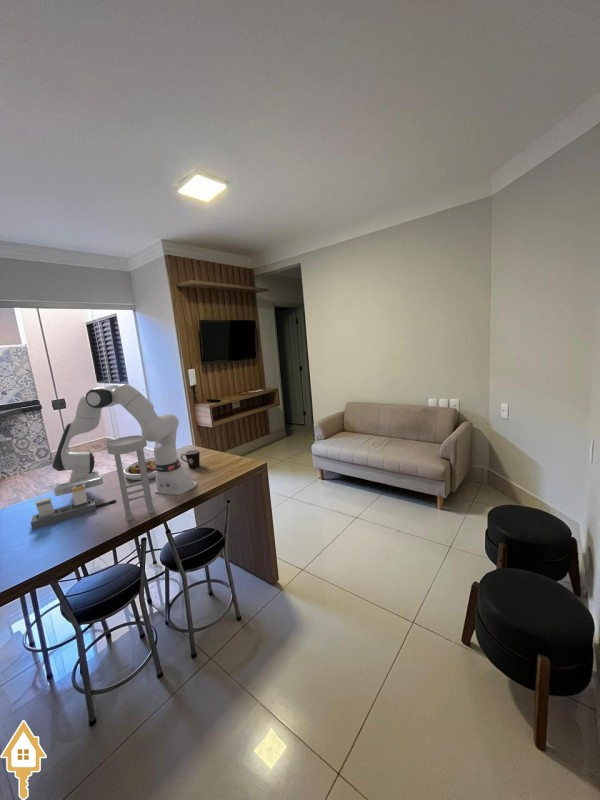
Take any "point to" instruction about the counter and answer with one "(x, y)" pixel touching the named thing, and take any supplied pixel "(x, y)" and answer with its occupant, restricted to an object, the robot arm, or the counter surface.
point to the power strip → (66, 513)
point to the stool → (137, 445)
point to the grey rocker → (44, 506)
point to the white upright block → (79, 495)
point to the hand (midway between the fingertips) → (79, 490)
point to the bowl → (134, 471)
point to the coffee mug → (192, 459)
